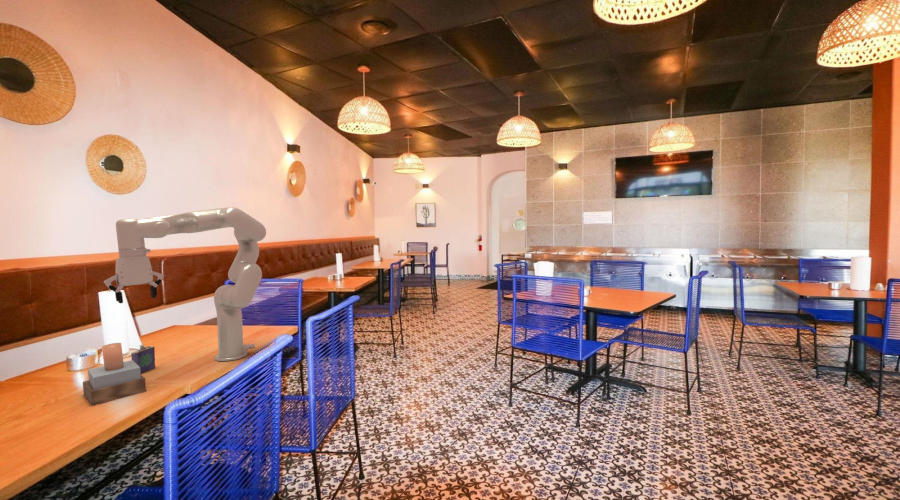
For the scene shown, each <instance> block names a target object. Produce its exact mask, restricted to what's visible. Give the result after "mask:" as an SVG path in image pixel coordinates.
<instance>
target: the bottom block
mask: <svg viewBox="0 0 900 500" xmlns="http://www.w3.org/2000/svg"><path fill="white" fill-rule="evenodd" d="M82 390H83V396H84V397H85V399H86V400H87V401H88V403H89V404H90V406H91V407H93V406H97V405H101V404H104V403H105V404H106V403H108V402H111V401H115V400H119V399H123V398H126V397H131V396H134V395H138V394H141V393H142V394H143V393H145V392H147V386H146V378H145V377H144V376H143V374H141V379H138V380H134V381H130V382H125V383H121V384H117V385H113V386H109V387H104V388H100V389H96V390H94V389H93V387H92V385H91V384H90V382H89V379H88V380H85V381H84V380H83V381H82Z"/></svg>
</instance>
